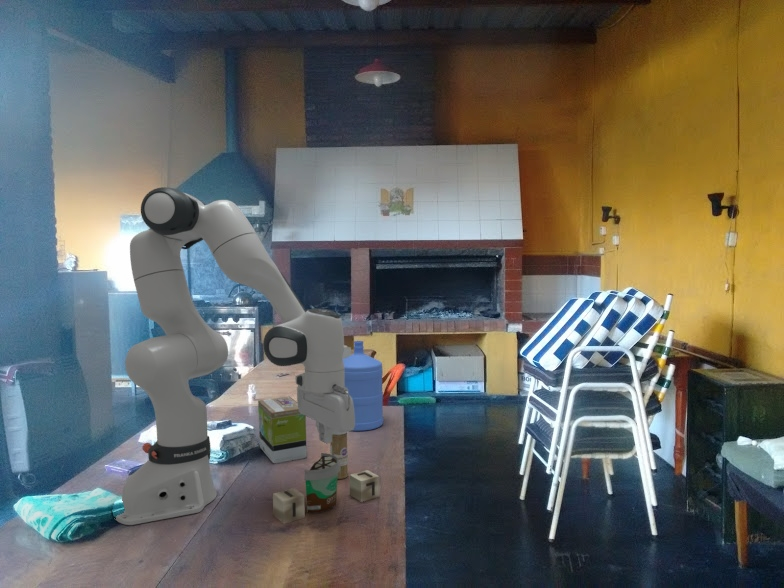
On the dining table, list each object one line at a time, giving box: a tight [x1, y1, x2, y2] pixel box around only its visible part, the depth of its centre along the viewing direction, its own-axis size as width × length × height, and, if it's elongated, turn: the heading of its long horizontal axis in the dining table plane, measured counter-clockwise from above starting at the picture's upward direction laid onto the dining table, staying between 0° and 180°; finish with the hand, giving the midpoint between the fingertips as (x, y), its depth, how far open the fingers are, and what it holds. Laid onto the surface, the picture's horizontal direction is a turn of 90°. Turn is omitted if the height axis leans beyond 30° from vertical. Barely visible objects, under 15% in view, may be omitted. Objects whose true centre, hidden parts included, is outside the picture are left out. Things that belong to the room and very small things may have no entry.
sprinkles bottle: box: [329, 430, 349, 480], centre depth 148 cm, size 5×5×14 cm
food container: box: [303, 452, 341, 514], centre depth 131 cm, size 12×6×10 cm, turn 168°
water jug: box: [343, 340, 384, 432], centre depth 193 cm, size 16×16×28 cm
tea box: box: [257, 395, 308, 464], centre depth 166 cm, size 15×10×15 cm, turn 27°
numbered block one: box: [272, 487, 306, 525], centre depth 126 cm, size 5×5×5 cm
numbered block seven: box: [349, 469, 380, 503], centre depth 136 cm, size 5×5×5 cm
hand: (325, 441), depth 131 cm, fingers closed
